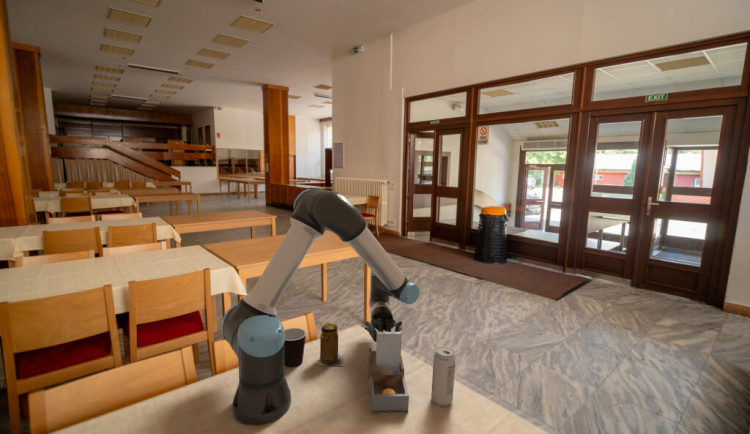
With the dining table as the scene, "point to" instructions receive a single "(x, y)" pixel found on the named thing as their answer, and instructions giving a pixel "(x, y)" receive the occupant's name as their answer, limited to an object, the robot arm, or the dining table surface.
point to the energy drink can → (443, 376)
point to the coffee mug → (294, 347)
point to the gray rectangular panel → (388, 353)
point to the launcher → (383, 380)
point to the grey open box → (389, 399)
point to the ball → (388, 391)
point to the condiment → (330, 347)
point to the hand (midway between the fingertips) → (388, 350)
